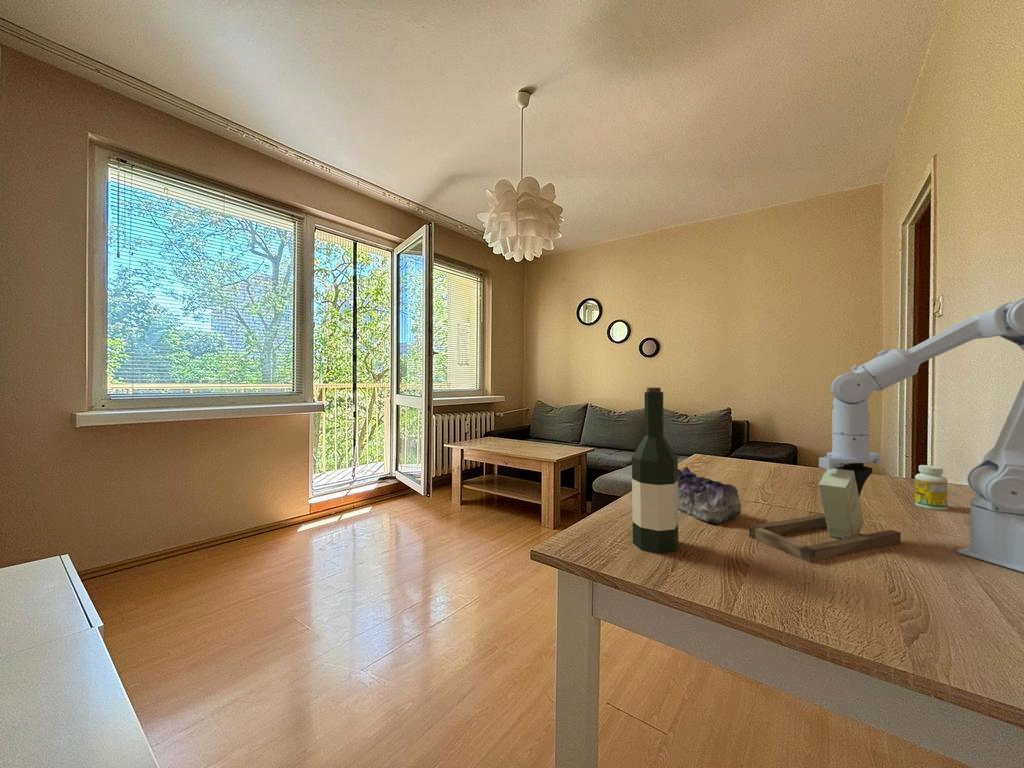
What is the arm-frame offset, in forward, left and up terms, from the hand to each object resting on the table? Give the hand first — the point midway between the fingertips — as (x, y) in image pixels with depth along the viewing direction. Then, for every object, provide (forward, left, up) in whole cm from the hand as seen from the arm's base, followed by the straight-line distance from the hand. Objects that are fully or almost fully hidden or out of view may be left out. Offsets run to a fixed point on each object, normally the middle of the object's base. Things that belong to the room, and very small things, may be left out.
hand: (850, 501), depth 81 cm
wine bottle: (+9, +39, -7) cm, 41 cm away
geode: (+22, +18, -7) cm, 29 cm away
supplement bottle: (+5, -35, -7) cm, 36 cm away
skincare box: (0, +1, -6) cm, 6 cm away
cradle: (0, +8, -6) cm, 10 cm away
